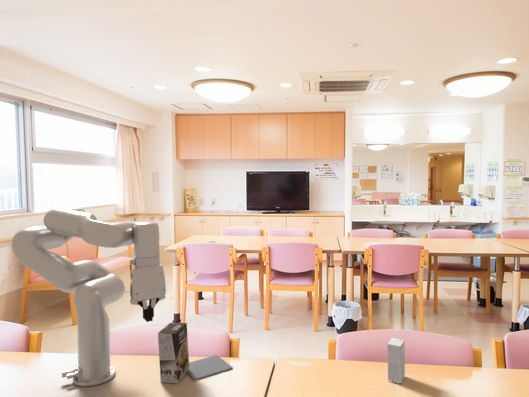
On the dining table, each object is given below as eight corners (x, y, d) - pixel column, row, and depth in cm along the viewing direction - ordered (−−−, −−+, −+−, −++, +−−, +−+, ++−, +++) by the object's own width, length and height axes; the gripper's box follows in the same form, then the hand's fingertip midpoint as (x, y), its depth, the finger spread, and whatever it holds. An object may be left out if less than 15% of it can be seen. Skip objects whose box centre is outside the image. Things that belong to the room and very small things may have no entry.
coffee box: (178, 383, 116) (175, 333, 115) (160, 382, 117) (156, 332, 117) (190, 369, 125) (187, 322, 124) (172, 368, 126) (169, 321, 126)
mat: (194, 380, 119) (194, 379, 119) (180, 366, 128) (180, 364, 128) (232, 368, 126) (232, 367, 126) (216, 356, 136) (216, 354, 136)
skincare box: (391, 373, 123) (391, 337, 123) (405, 376, 121) (404, 339, 120) (387, 381, 118) (387, 343, 117) (401, 384, 115) (401, 346, 115)
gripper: (125, 266, 108) (126, 329, 108) (174, 260, 117) (175, 318, 117) (119, 263, 115) (120, 322, 115) (166, 257, 123) (167, 312, 123)
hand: (148, 320), depth 116 cm, fingers closed
